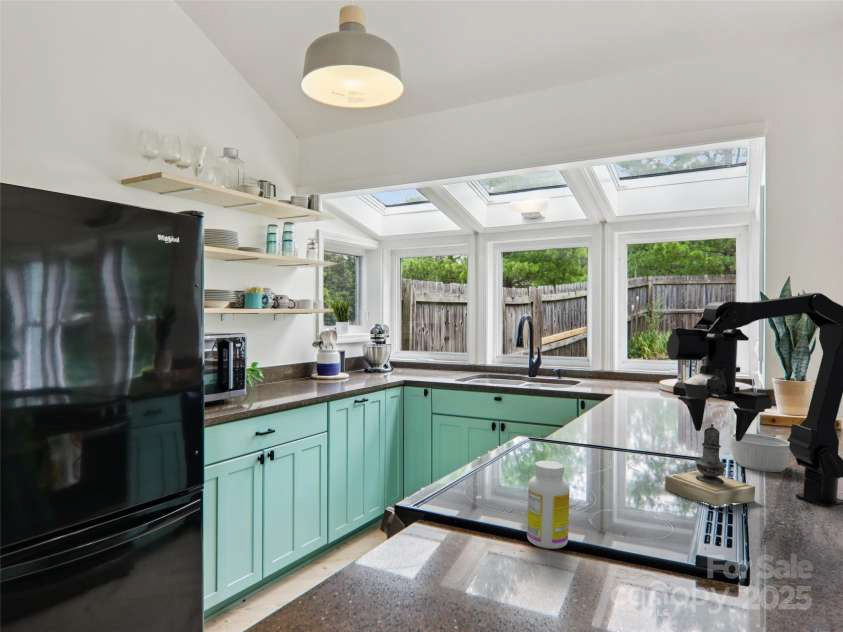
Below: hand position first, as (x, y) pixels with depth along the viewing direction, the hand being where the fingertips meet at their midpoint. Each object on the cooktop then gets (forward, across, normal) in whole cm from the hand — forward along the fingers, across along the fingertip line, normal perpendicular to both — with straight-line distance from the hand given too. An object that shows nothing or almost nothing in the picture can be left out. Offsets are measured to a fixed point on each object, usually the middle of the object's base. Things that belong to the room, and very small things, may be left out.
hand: (717, 435), depth 116 cm
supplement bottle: (+13, +4, -48) cm, 49 cm away
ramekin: (+13, -11, +32) cm, 37 cm away
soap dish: (+13, -1, -1) cm, 13 cm away
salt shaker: (+10, -1, -1) cm, 10 cm away
